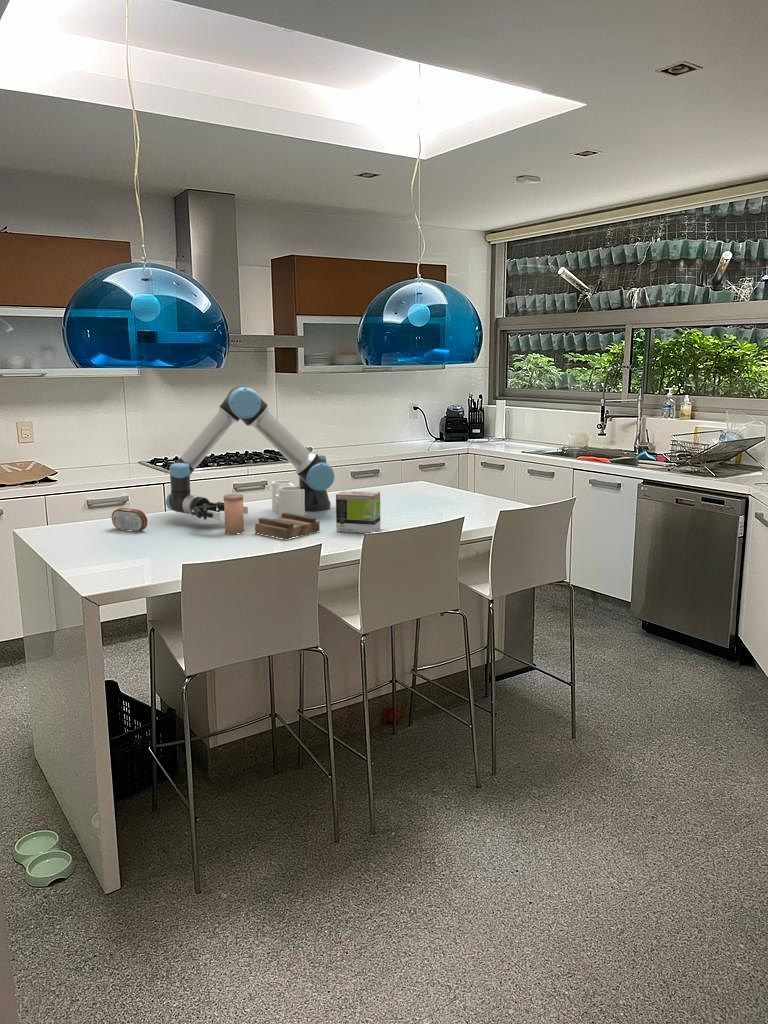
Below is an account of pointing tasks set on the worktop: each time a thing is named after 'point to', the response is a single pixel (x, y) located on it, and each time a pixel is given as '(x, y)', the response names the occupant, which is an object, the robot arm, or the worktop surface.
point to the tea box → (358, 511)
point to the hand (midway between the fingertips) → (233, 513)
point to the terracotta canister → (233, 513)
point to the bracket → (287, 498)
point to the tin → (129, 519)
